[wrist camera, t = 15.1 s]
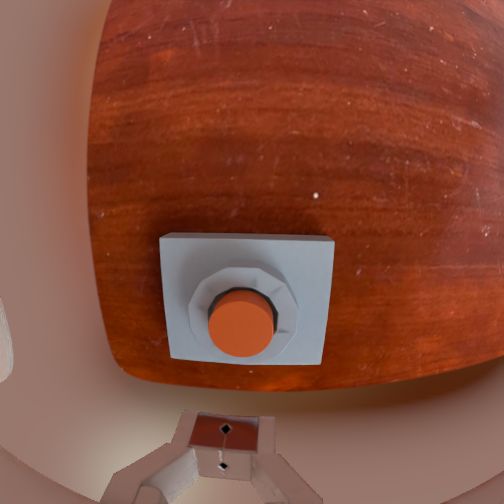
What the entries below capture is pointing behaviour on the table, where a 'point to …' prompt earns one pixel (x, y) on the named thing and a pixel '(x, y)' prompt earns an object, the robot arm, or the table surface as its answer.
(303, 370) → the table surface
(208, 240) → the grey mounting base
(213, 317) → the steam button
